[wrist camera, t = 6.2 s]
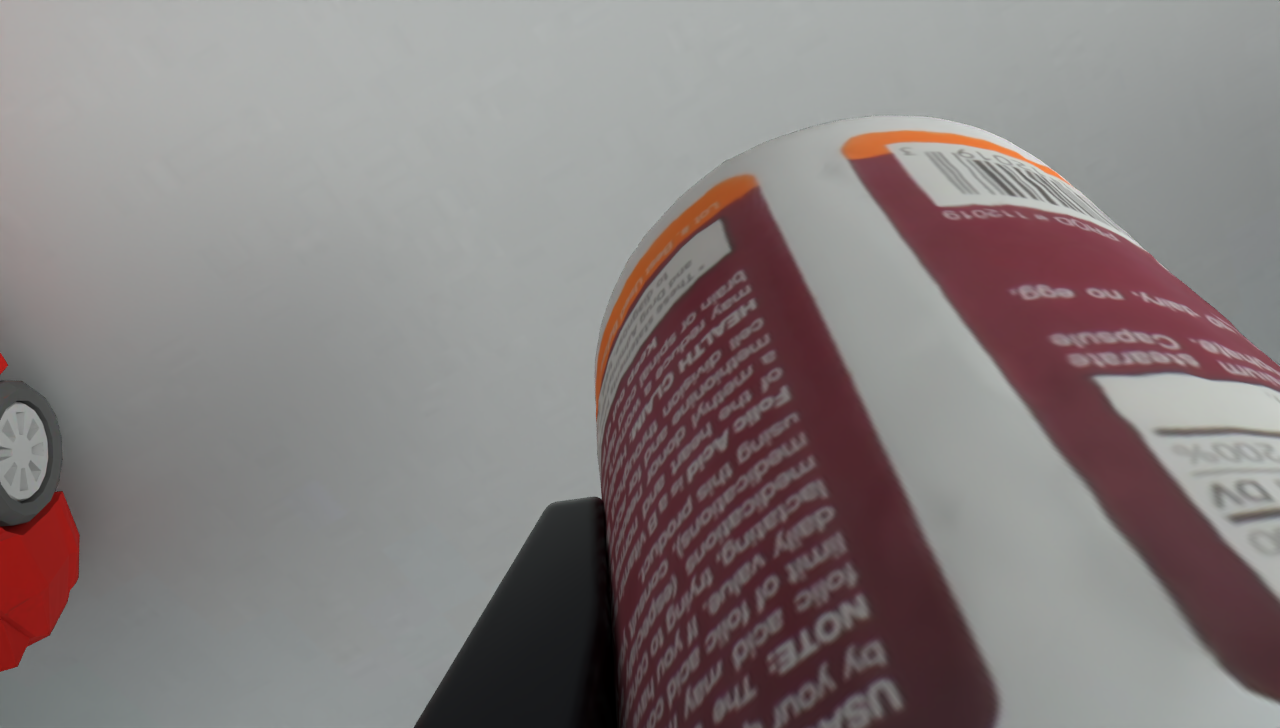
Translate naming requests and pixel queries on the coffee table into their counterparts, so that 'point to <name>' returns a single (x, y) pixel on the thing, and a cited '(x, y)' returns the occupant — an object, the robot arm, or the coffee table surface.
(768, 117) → the coffee table surface
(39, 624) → the toy car
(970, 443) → the pill bottle
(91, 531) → the coffee table surface
